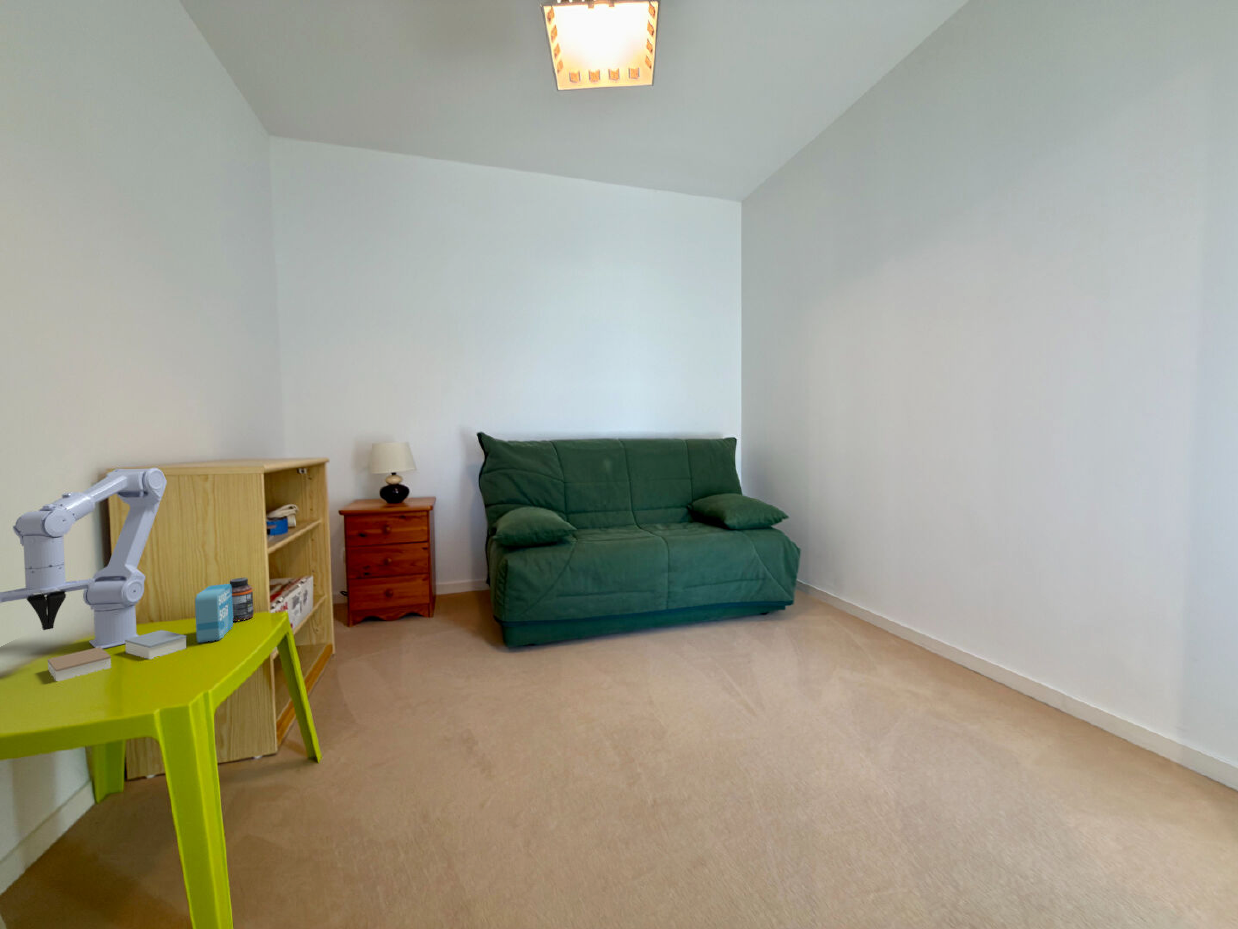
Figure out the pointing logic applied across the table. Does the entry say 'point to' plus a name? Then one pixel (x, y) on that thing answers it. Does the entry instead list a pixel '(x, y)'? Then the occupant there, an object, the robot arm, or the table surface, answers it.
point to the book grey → (155, 644)
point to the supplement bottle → (241, 599)
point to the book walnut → (79, 663)
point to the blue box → (213, 612)
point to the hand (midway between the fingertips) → (47, 628)
